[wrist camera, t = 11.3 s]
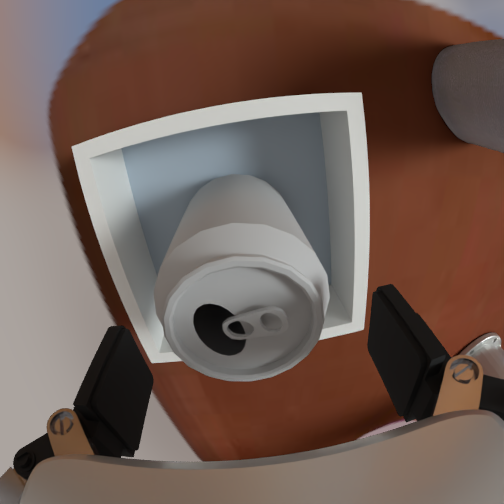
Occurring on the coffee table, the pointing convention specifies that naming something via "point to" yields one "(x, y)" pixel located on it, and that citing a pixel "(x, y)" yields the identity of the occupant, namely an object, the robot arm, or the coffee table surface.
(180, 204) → the walled box
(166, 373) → the coffee table surface
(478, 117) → the pillar candle
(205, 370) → the can
